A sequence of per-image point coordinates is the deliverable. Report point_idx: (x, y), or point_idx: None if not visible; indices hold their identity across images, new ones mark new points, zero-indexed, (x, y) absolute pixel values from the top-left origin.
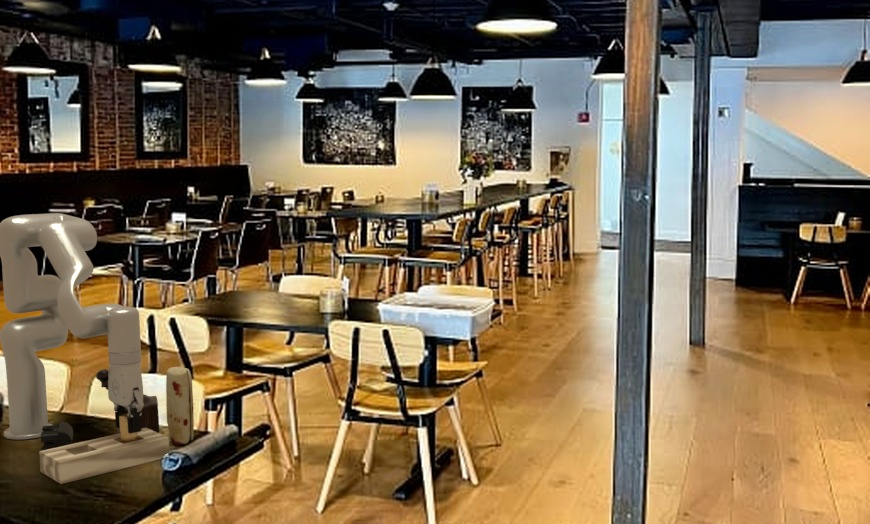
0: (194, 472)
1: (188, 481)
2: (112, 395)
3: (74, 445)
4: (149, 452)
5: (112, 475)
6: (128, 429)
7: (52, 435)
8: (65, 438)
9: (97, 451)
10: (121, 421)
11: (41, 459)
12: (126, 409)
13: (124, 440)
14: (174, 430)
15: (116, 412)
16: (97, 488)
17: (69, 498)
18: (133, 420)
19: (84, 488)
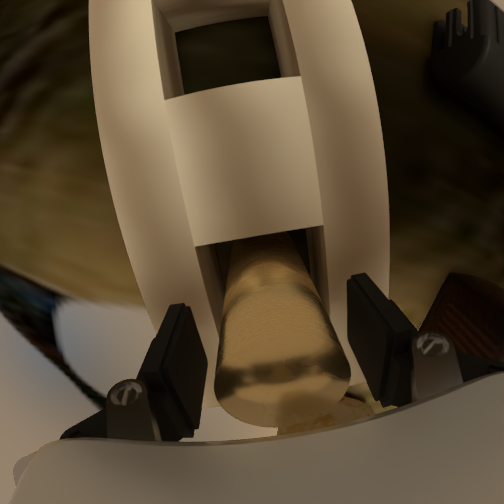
0: (50, 351)
1: (5, 315)
2: (451, 491)
3: (325, 23)
4: None
5: (100, 150)
6: (170, 314)
7: (483, 26)
8: (465, 61)
9: (132, 96)
10: (253, 319)
11: None
12: (501, 359)
13: (238, 265)
14: (299, 431)
15: (395, 337)
16: (26, 98)
17: (13, 36)
18: (140, 379)
19: (45, 62)
